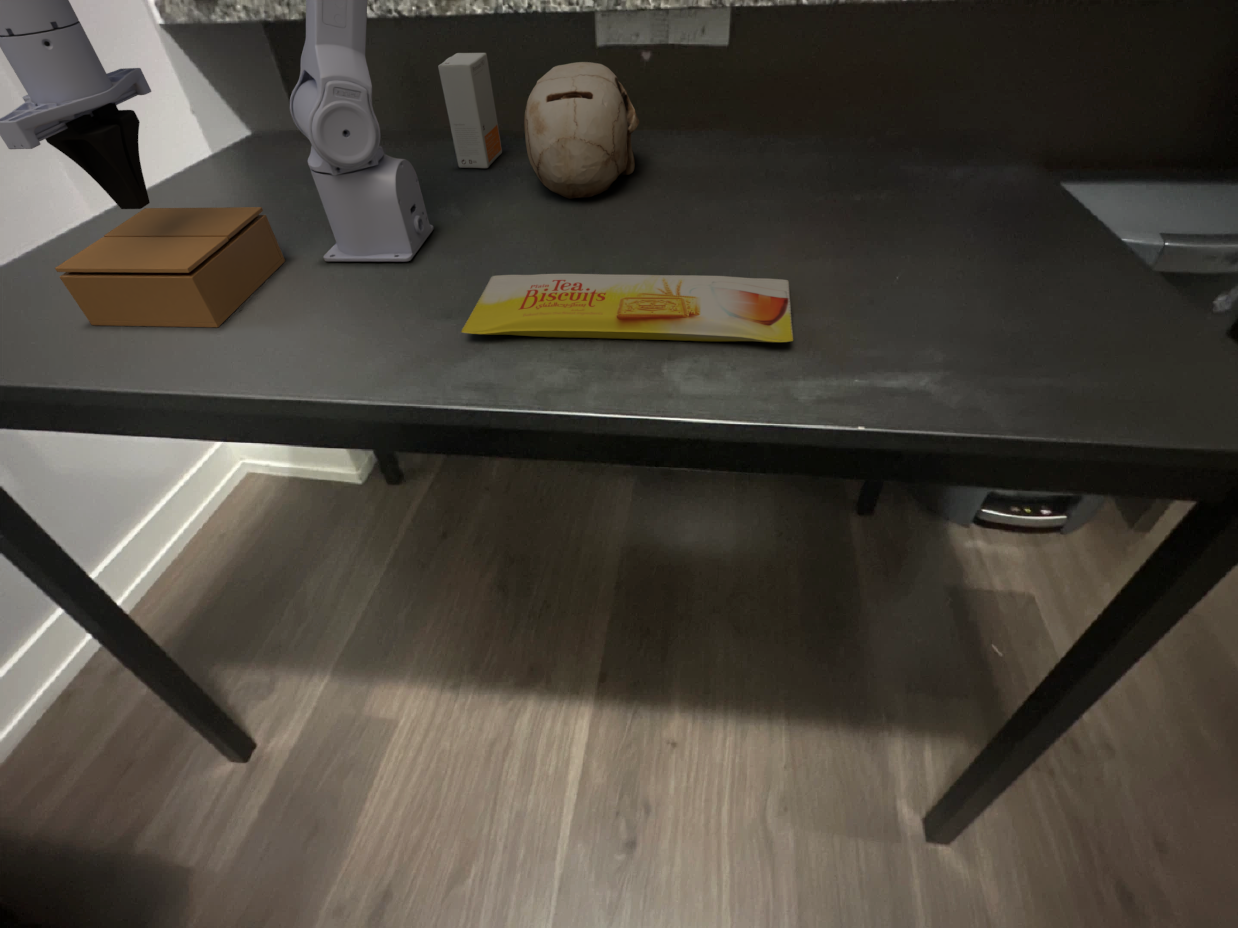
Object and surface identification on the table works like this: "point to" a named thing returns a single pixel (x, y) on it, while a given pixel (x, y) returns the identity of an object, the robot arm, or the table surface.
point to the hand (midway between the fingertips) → (135, 205)
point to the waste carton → (183, 296)
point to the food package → (635, 307)
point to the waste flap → (143, 254)
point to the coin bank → (579, 129)
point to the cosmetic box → (471, 109)
